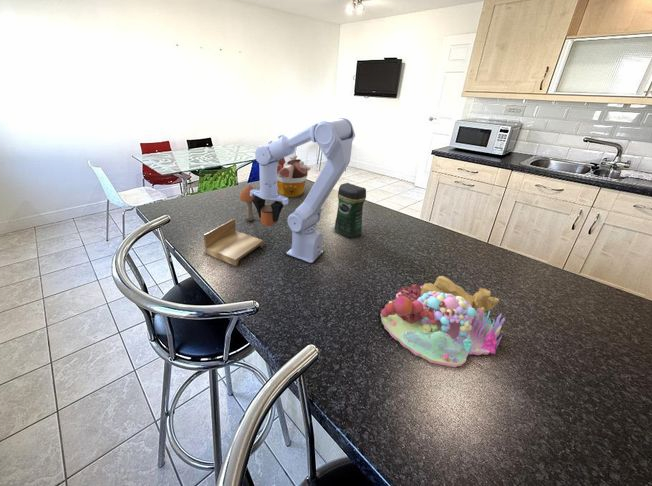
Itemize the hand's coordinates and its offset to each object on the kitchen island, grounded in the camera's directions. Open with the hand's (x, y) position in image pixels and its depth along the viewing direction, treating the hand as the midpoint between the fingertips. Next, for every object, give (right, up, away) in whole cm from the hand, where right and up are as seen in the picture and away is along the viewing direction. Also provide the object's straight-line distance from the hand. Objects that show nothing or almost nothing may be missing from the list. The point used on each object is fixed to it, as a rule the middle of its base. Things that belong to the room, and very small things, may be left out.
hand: (268, 218), depth 102 cm
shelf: (-11, -10, -5) cm, 16 cm away
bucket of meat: (+8, +11, +44) cm, 46 cm away
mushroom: (-8, -1, +15) cm, 17 cm away
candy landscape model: (+42, -24, -33) cm, 58 cm away
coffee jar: (+29, -5, +8) cm, 31 cm away
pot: (0, -1, +1) cm, 1 cm away
